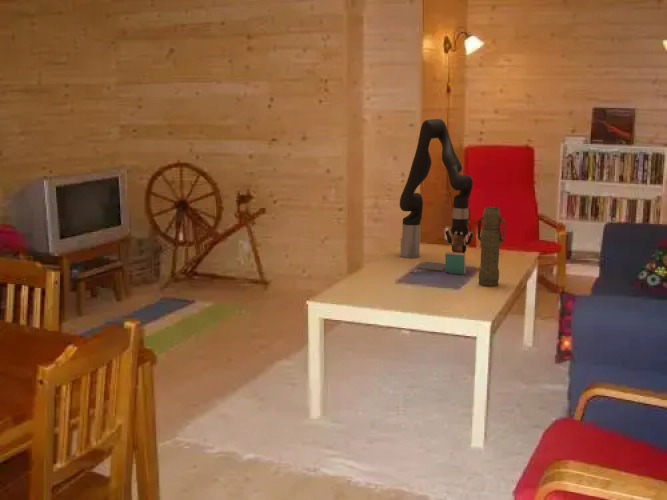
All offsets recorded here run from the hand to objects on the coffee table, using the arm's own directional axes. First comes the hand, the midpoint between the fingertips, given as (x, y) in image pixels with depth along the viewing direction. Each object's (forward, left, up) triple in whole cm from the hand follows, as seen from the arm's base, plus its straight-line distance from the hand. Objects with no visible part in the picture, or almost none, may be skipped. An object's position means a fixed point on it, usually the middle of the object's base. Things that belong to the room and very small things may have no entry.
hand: (458, 252), depth 371 cm
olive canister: (+19, -18, -10) cm, 28 cm away
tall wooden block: (0, 0, -2) cm, 2 cm away
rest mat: (-13, +4, -9) cm, 17 cm away
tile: (0, -4, -9) cm, 10 cm away
